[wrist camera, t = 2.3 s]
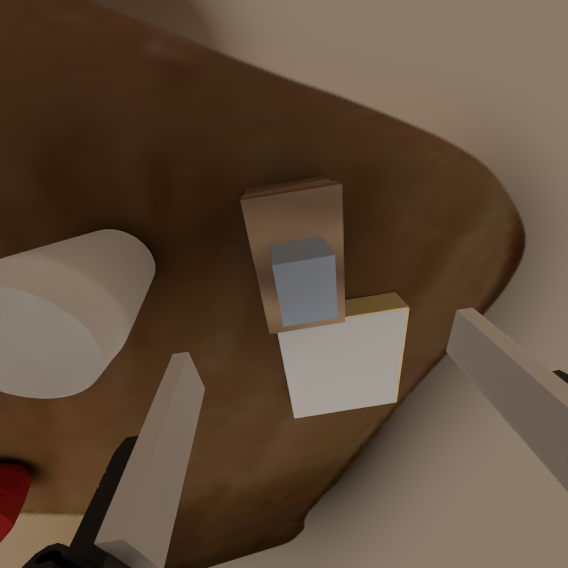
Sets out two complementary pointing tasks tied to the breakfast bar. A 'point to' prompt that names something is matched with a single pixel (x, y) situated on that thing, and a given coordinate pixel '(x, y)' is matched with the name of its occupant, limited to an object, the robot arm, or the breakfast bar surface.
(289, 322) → the blue-grey block
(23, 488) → the apple
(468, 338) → the robot arm
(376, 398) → the dock
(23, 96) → the breakfast bar surface
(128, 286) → the cup
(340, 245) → the block
